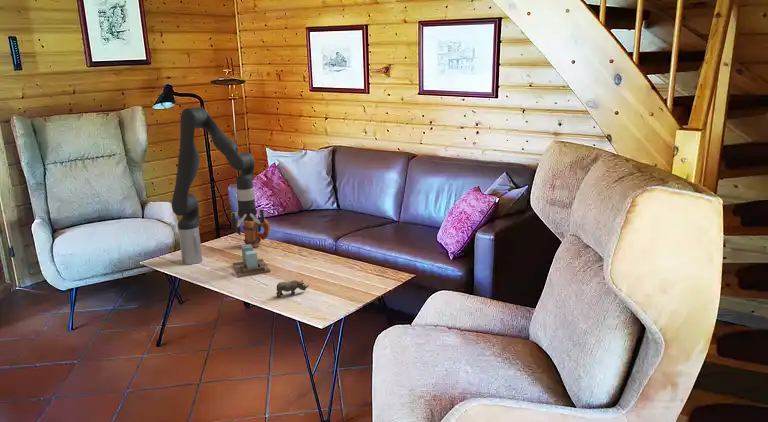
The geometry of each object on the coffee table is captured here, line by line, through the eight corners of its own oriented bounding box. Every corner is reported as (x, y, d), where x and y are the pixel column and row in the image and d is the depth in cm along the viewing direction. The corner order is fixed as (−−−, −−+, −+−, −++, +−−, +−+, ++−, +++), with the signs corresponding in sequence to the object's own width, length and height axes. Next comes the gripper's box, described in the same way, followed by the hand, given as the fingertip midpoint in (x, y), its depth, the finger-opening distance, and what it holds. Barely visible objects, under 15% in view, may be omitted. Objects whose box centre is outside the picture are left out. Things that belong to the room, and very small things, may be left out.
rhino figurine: (310, 293, 234) (309, 279, 233) (276, 298, 230) (275, 284, 229) (308, 290, 238) (307, 276, 236) (275, 295, 234) (274, 281, 232)
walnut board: (232, 265, 270) (231, 247, 268) (262, 260, 276) (260, 242, 273) (239, 277, 254) (237, 258, 252) (270, 272, 260) (268, 253, 257)
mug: (241, 248, 295) (238, 220, 291) (247, 243, 302) (244, 216, 299) (268, 249, 292) (265, 221, 288) (273, 244, 300) (271, 216, 296)
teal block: (246, 268, 263) (245, 251, 261) (256, 266, 264) (254, 250, 262) (248, 271, 259) (246, 254, 257) (258, 269, 260) (256, 253, 258)
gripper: (260, 194, 259) (263, 228, 263) (228, 198, 254) (231, 233, 258) (263, 198, 252) (266, 233, 257) (231, 201, 247) (234, 237, 251)
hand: (249, 233), depth 257 cm, fingers open, 8 cm apart
